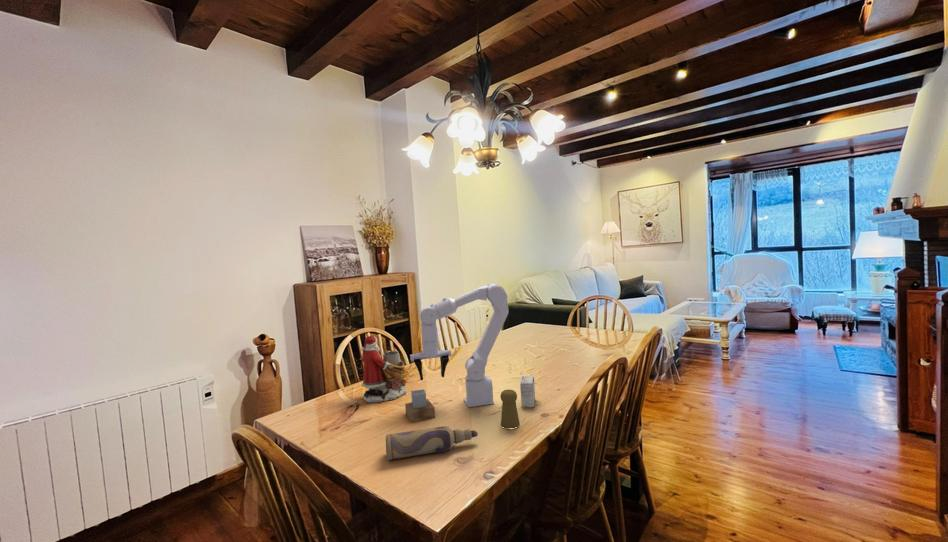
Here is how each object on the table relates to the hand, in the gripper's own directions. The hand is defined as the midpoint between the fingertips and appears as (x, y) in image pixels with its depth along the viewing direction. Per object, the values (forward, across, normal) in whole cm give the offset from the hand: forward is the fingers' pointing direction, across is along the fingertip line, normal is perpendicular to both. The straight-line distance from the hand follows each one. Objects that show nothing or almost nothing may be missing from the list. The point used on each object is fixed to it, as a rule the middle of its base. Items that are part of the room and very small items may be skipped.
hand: (432, 378), depth 141 cm
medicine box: (+11, +32, -11) cm, 36 cm away
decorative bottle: (+11, -6, -32) cm, 35 cm away
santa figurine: (+11, -16, +18) cm, 26 cm away
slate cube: (+7, -6, -6) cm, 11 cm away
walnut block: (+11, -6, -6) cm, 14 cm away
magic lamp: (+10, -11, +32) cm, 36 cm away
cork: (+11, +20, -25) cm, 34 cm away
